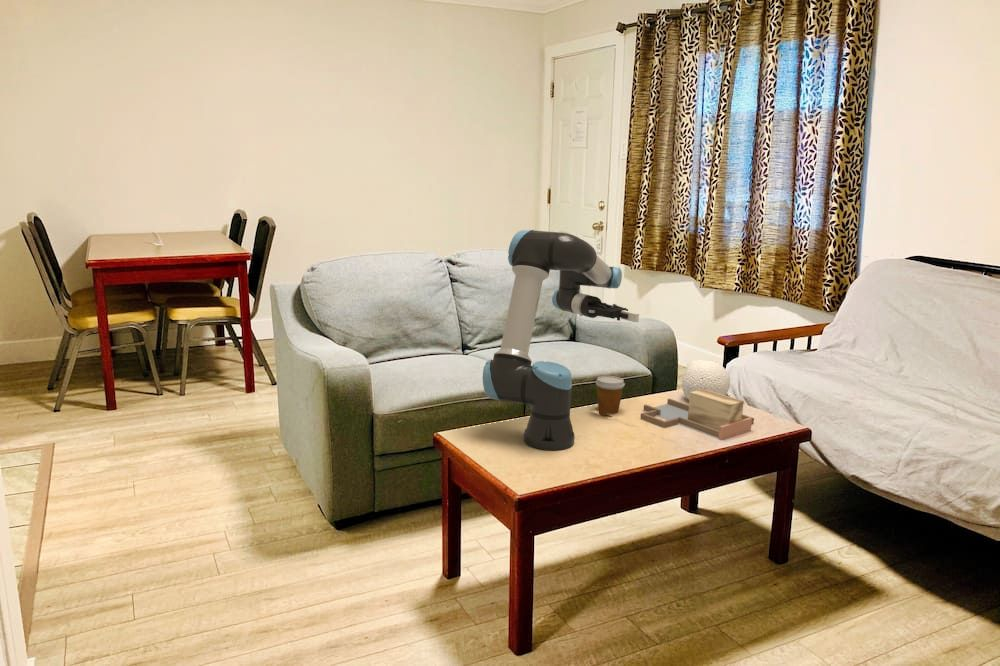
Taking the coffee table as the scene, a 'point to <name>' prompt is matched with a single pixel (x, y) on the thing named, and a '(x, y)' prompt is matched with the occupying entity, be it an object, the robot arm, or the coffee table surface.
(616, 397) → the disposable coffee cup
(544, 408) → the robot arm
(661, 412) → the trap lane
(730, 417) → the maple block
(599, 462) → the coffee table surface
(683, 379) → the decorative orb
